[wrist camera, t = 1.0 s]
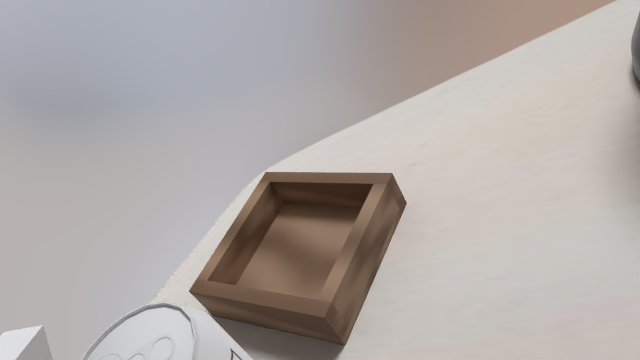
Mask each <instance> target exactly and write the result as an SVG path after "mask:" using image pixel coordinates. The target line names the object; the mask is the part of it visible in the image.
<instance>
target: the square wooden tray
mask: <svg viewBox="0 0 640 360" xmlns="http://www.w3.org/2000/svg"><path fill="white" fill-rule="evenodd" d="M405 205H406V201H405V199H404V197H403V194H402V192H401V190H400V188H399V186H398V184H397V182H396V180H395V178H394V176H393V174H392V173H314V172H266V173H265V174H264V176H263V177H262V179H261V180H260V182H259V183H258V185H257V187H256V188H255V190H254V191H253V193H252V194H251V196H250V197H249V199H248V200H247V202H246V204H245V205H244V207H243V208H242V210H241V211H240V213H239V214H238V216H237V218H236V219H235V221H234V222H233V224H232V225H231V227H230V228H229V230H228V231H227V233H226V235H225V236H224V238H223V239H222V241H221V242H220V244H219V245H218V247H217V248H216V250H215V252H214V253H213V255H212V256H211V258H210V259H209V261H208V262H207V264H206V265H205V267H204V269H203V270H202V272H201V273H200V275H199V276H198V278H197V279H196V281H195V283H194V284H193V286H192V287H191V289H190V290H189V292H190V293H191V294H192V295H193V296H194V297H195V298H196V299H197V300H198V301H199V302H200V303H201V304H202V305H203V306H204V307H205V308H206V309H207V310H208V311H209V312H210V313H211V314H212V315H214V316H218V317H223V318H227V319H232V320H236V321H241V322H245V323H249V324H254V325H258V326H263V327H267V328H272V329H276V330H281V331H285V332H290V333H294V334H299V335H303V336H308V337H312V338H317V339H321V340H326V341H330V342H335V343H339V344H343V345H345V344H346V342H347V340H348V337H349V335H350V333H351V330H352V328H353V326H354V323H355V321H356V319H357V317H358V314H359V312H360V310H361V307H362V305H363V303H364V300H365V298H366V296H367V293H368V291H369V289H370V286H371V284H372V282H373V279H374V277H375V275H376V273H377V270H378V268H379V266H380V263H381V261H382V259H383V256H384V254H385V252H386V249H387V247H388V245H389V242H390V240H391V238H392V236H393V233H394V231H395V229H396V226H397V224H398V222H399V219H400V217H401V215H402V212H403V210H404V208H405Z"/></svg>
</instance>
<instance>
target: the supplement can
mask: <svg viewBox="0 0 640 360" xmlns="http://www.w3.org/2000/svg"><path fill="white" fill-rule="evenodd" d="M81 360H253V359H252V358H251V357H250V356H249V355H248V354H247V353H246V352H245V351H244V350H243V349H242V348H241V347H240V346H239V345H238V344H237V343H236V342H235V341H234V340H233V339H232V338H231V337H230V335H229V334H228V333H227V332H226V331H225V330H224V329H223V328H222V327H221V326H220V325H219V324H218V323H217V322H216V321H215V320H214V319H213V318H212V317H211V316H210V315H209V314H208V313H207V312H204V311H200V310H196V309H193V308H189V307H182V306H181V305H178V304H174V303H170V302H166V301H162V302H156V303H150V304H145V305H143V306H141V307H139V308H137V309H135V310H133V311H131V312H129V313H126V314H124V315H123V316H122V317H121V318H119V319H118V320H117V321H116V322H114V323H113V324H112V325H110V326H109V327H108V328H107V329H105V330H104V331H103V332H102V333H101V334H100V336H99V337H98V338H97V339H96V340H95V341H94V342H93V344H92V345H91V346H90V347H89V348H88V349H87V350H86V352H85V353H84V355H83V357H82V358H81Z"/></svg>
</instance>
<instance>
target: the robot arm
mask: <svg viewBox="0 0 640 360" xmlns="http://www.w3.org/2000/svg"><path fill="white" fill-rule="evenodd" d="M631 51H632V61H633V69H634V73H635V76H636V78H637V80H638V81H639V82H640V13H639V16H638V19H637V22H636V26H635V29H634V32H633V36H632V42H631ZM0 360H53V359H52V355H51V352H50V349H49V345H48V341H47V338H46V334H45V331H44V327H43V325H41V326H36V327H30V328H24V329H19V330H13V331H8V332H4V333H3V334H2V335H1V336H0Z"/></svg>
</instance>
